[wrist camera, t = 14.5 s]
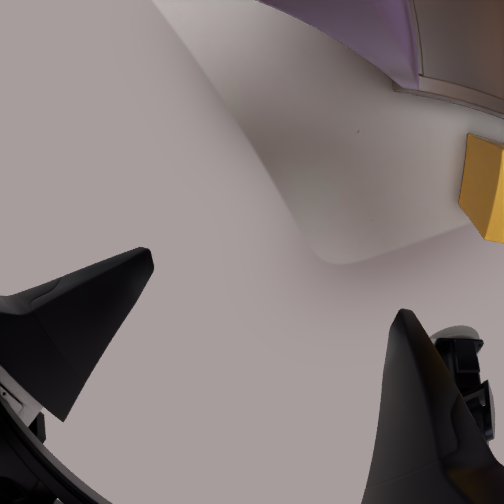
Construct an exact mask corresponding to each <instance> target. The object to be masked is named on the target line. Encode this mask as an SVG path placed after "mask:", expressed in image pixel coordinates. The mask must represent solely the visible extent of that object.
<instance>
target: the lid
mask: <svg viewBox="0 0 504 504" xmlns="http://www.w3.org/2000/svg"><path fill="white" fill-rule="evenodd" d="M256 1H258V2H261V3H264V4H266V5H269V6H271V7H273V8H276V9H278V10H280V11H283V12H285V13H287V14H289V15H291V16H293V17H295V18H297V19H300V20H302V21H304V22H305V23H307V24H309V25H311V26H313V27H315V28H317V29H319V30H320V31H322V32H324V33H326V34H327V35H329V36H331V37H333V38H334V39H336V40H338V41H339V42H341V43H342V44H344V45H346V46H347V47H349V48H350V49H352V50H353V51H355V52H356V53H358V54H359V55H361V56H362V57H364V58H365V59H366V60H368V61H369V62H371V63H372V64H373V65H375V66H376V67H377V68H379V69H380V70H381V71H383V72H384V73H385V74H386V75H388V76H389V77H390V78H391V79H393V80H394V81H395V82H396V83H398V84H399V85H400V86H401V87H402V88H406V89H413V90H419V71H418V58H417V48H416V40H415V33H414V26H413V20H412V14H411V9H410V4H409V0H256Z"/></svg>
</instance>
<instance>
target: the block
mask: <svg viewBox="0 0 504 504" xmlns="http://www.w3.org/2000/svg"><path fill="white" fill-rule="evenodd" d="M459 205H460V207H461V208H462V209H463V211H464V212H465V213H466V215H467V216H468V217H469V219H470V220H471V221H472V223H473V224H474V225H475V227H476V228H477V230H478V231H479V233H480V234H481V236H482V237H483V238H484V240H489V241H494V242H500V243H504V144H502V143H499V142H496V141H493V140H490V139H487V138H483V137H480V136H476V135H473V134H468V136H467V149H466V159H465V167H464V174H463V181H462V187H461V193H460V198H459Z"/></svg>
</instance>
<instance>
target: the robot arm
mask: <svg viewBox="0 0 504 504" xmlns="http://www.w3.org/2000/svg"><path fill="white" fill-rule="evenodd" d="M153 271H154V264H153V260H152V255H151V251H150V250H149V249H147V248H144V247H138V248H135V249H133V250H130V251H127V252H124V253H122V254H119V255H116V256H114V257H111V258H108V259H106V260H103V261H100V262H98V263H95V264H93V265H90V266H87V267H85V268H82V269H80V270H77V271H75V272H72V273H70V274H67V275H65V276H63V277H60V278H57V279H55V280H52V281H50V282H47V283H45V284H42V285H39V286H37V287H34V288H31V289H28V290H25V291H22V292H20V293H17V294H14V295H10V296H0V504H112V503H111V502H109V501H107V500H106V499H105V498H103V497H102V496H101V495H99V494H98V493H97V492H95V491H94V490H93V489H91V488H90V487H89V486H88V485H86V484H85V483H84V482H83V481H81V480H80V479H79V478H78V477H77V476H76V475H74V474H73V473H72V472H71V471H70V470H69V469H68V468H66V467H65V466H64V465H63V464H62V463H61V462H60V461H59V460H58V459H57V458H56V457H55V456H53V454H52V453H51V452H50V451H49V450H48V449H47V448H46V447H45V446H44V445H43V443H44V441H45V440H46V434H45V421H44V414H42V412H41V409H42V408H43V407H44V408H46V409H47V410H48V411H49V412H51V413H52V414H53V415H54V416H56V417H57V418H58V419H59V420H61V421H62V422H64V421H65V419H66V418H67V415H68V414H69V412H70V410H71V408H72V406H73V404H74V403H75V401H76V399H77V397H78V395H79V394H80V392H81V390H82V388H83V387H84V385H85V383H86V381H87V379H88V378H89V376H90V374H91V372H92V371H93V369H94V368H95V366H96V364H97V363H98V361H99V359H100V358H101V356H102V354H103V353H104V351H105V350H106V348H107V346H108V345H109V343H110V342H111V340H112V338H113V337H114V335H115V334H116V332H117V330H118V329H119V328H120V326H121V324H122V323H123V321H124V320H125V318H126V317H127V315H128V314H129V312H130V311H131V309H132V308H133V306H134V305H135V303H136V302H137V300H138V298H139V296H140V295H141V293H142V291H143V289H144V287H145V286H146V284H147V282H148V280H149V278H150V277H151V275H152V273H153ZM483 344H484V343H483V340H482V339H458V338H438V339H436V341H435V343H434V344H433V343H432V341H431V339H430V338H429V336H428V335H427V333H426V331H425V330H424V328H423V327H422V325H421V323H420V322H419V320H418V319H417V317H416V316H415V314H414V313H413V311H411V310H408V309H400V310H399V311H398V313H397V315H396V317H395V319H394V321H393V323H392V325H391V327H390V331H389V338H388V345H387V352H386V358H385V364H384V371H383V380H382V393H381V402H380V412H379V420H378V427H377V434H376V440H375V446H374V452H373V458H372V462H371V467H370V471H369V476H368V481H367V484H366V489H365V492H364V495H363V499H362V503H361V504H504V466H503V465H502V464H500V463H499V462H498V461H497V460H496V458H495V457H494V455H493V454H492V452H491V450H490V448H489V441H490V440H493V439H494V434H495V411H494V410H495V409H494V402H493V395H492V392H491V388H490V385H489V382H488V380H486V381H484V382H483V383H482V384H481V381H480V374H479V372H480V367H479V362H478V356H477V353H478V352H479V351H480V349H481V348H482V346H483ZM483 405H485V406H483ZM57 498H58V499H59V500H60V501H59V500H57Z"/></svg>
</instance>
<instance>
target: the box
mask: <svg viewBox="0 0 504 504" xmlns="http://www.w3.org/2000/svg"><path fill="white" fill-rule="evenodd" d="M409 4H410V9H411V14H412V20H413V26H414V33H415V40H416V48H417V58H418V71H419V90H413V89H406V88H402V87H401V86H400V85H399V84H398V83H396V82H395V81H394V80H393V91H394V92H399V93H406V94H412V95H418V96H423V97H428V98H433V99H438V100H442V101H447V102H451V103H455V104H459V105H462V106H466V107H469V108H473V109H476V110H479V111H483V112H486V113H489V114H492V115H494V116H497V117H500V118H503V119H504V0H409Z"/></svg>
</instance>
